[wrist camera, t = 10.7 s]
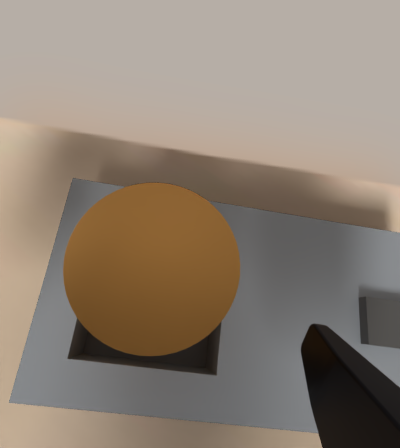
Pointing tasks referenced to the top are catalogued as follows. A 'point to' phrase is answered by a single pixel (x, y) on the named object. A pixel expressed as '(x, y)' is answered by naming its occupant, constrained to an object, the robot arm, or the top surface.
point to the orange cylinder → (151, 269)
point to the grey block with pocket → (226, 326)
